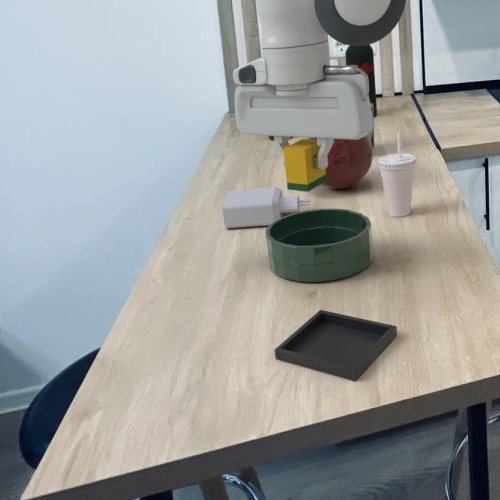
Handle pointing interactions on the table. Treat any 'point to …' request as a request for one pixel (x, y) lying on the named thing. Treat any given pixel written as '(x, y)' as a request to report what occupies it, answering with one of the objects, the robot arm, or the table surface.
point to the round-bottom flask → (348, 162)
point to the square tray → (336, 344)
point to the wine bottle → (364, 67)
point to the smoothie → (398, 181)
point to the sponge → (303, 166)
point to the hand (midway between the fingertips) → (305, 166)
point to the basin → (319, 245)
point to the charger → (258, 207)
